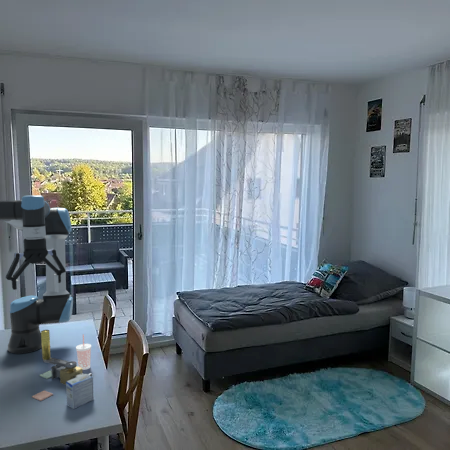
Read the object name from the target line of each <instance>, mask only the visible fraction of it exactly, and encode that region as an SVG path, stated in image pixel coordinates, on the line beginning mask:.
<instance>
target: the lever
mask: <svg viewBox="0 0 450 450" xmlns="http://www.w3.org/2000/svg"><path fill="white" fill-rule="evenodd" d="M40 332H41V341H42V348H41V356H42V357H41V358H42V361H43V363H47V364H50V365H53V366H55V365H58V366H63V367H65V368H66V369H73V368H75V367H76V366H77V367H78V365H77V364H78V362H77V361H74V360H73V361H69V360H64V359H61V358H60V359H59V358H56V357H51V356H52V355H51V340H50V339H51V338H50V337H51V336H50V335H51V334H50V330H49V329H43V330H40Z"/></svg>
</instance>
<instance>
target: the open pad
mask: <svg viewBox="0 0 450 450" xmlns="http://www.w3.org/2000/svg"><path fill="white" fill-rule="evenodd" d="M38 376H39V377H41V378H43V379H46V380H49V379H50V378H51V379H52V371H51V369H50V370H48V371H46V372H45V371H44V372H43V373H41V374H39V375H38Z"/></svg>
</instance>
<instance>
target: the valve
mask: <svg viewBox="0 0 450 450" xmlns="http://www.w3.org/2000/svg"><path fill="white" fill-rule="evenodd" d="M50 370H51V371H52V377H51V379H53V380H54V379H56V378H59V379H60V380H59V381H60V384H62V385H65V386H66V382H67V381H69V380H71V379H74V378H76V377H78V376H81V375H84V374H85V373H83V372H84V370H83V369H82V368H80V367H78V365H77V366H76V367H75V368H73V369H66V367H63V366H58V365H53V366H51V367H50ZM87 374H88V375H90V376H91V377H93V373H91V372H90V373H87Z"/></svg>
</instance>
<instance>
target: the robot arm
mask: <svg viewBox="0 0 450 450" xmlns="http://www.w3.org/2000/svg"><path fill="white" fill-rule="evenodd" d="M70 216H71V215H70V213H69V210H68V209H67V208H65V207H50V204H49V203H48V202H47V201H46V200H45V197H44V196H43V195H37V194H36V195H23V196H22V197H21V199H20V200H19V199H17V200H9V199H8V200H5V199H4V200H1V199H0V221H2V222H5V223H7V224H9V225H11V226H12V227H13V228H14V229H16V230H18V231H22V236H23V238H24V239H23V252H17V251H16V252H15V253H14V255H13V261H12V262H11V265H10V267H9V269H8V271H7V273H6V275H5V279H7V281H11V288H12V290H15V299H14V300H13V301H11V302H10V305H9V315H10V328H11V329H10V330H11V331H10V332H11V334H10V337H9V340H8V345H7V350H8V351H7V352H9V353H11V354H15V355H18V354H19V355H20V354H27V353H28V354H29V353H32V352H36V351H38V350H40V349H42V341H41V329H40V325H49V324H62V323H63V324H64V323H68V322H69V321H70V320H71V319H72V318H71V317H72V313H73V305H74V297H73V296H71V295H70V292H69V291H68V290H67V282H66V280H67V278H66V277H67V274H66V271H67V270H66V267H67V266H66V239H67V238H68V237H69V233H71V232H72V231H73V230H72V229H73V228H72V221H71V217H70ZM23 257H24V260H23V262H22V263H21V264H20V266H19V268H17V267H18V264H19V261H20V260H21V259H22V258H23ZM41 263H45V287H46V288H45V289H46V290H45V292H44V293H43V294H42V298H39V297H38V295H26V296H23V297H20V281H19V280H18V279H19V277H20V276H21V275H22V274H23V272H24V271H25V270H26V268H27V267H28V266H29V265H30V264H31V265H32V264H33V265H34V264H41ZM16 268H17V270H16Z"/></svg>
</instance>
